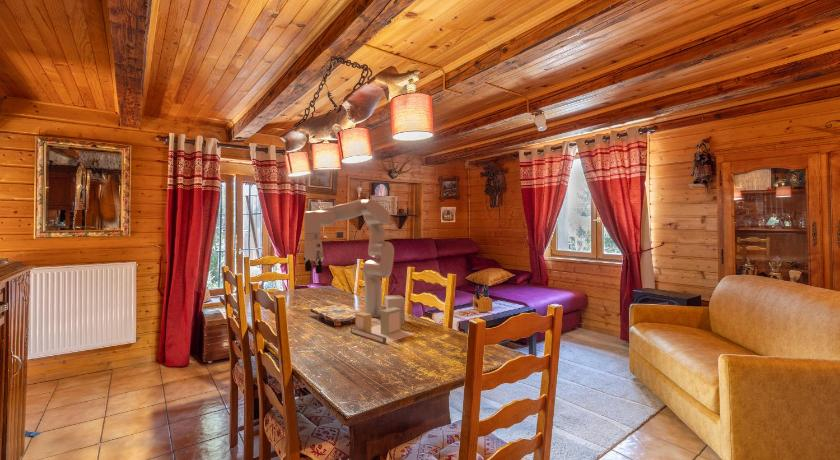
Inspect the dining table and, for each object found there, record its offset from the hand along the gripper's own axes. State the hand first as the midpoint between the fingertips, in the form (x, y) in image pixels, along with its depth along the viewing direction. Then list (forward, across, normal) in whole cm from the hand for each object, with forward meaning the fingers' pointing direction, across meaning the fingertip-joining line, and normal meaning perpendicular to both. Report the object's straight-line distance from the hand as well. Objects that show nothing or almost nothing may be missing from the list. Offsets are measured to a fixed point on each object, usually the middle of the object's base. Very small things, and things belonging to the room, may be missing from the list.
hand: (313, 272), depth 192 cm
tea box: (+28, -30, -23) cm, 47 cm away
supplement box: (+30, -18, -36) cm, 50 cm away
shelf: (+30, -28, -20) cm, 46 cm away
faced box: (+28, -21, -14) cm, 38 cm away
